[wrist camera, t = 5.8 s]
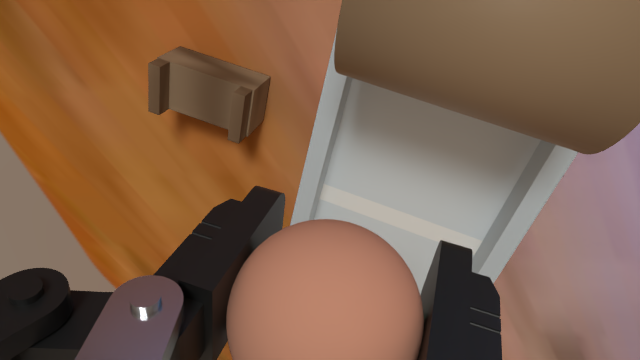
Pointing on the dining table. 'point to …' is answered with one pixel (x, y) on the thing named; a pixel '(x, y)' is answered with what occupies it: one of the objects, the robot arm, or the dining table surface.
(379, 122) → the lane
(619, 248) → the dining table surface
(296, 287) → the ball
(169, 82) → the brown wooden bracket block
